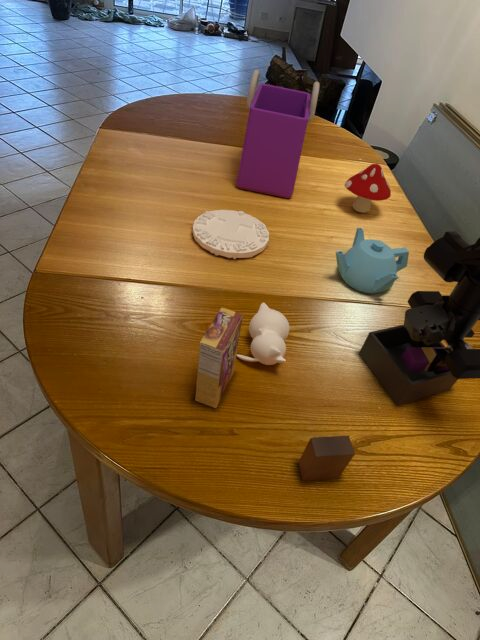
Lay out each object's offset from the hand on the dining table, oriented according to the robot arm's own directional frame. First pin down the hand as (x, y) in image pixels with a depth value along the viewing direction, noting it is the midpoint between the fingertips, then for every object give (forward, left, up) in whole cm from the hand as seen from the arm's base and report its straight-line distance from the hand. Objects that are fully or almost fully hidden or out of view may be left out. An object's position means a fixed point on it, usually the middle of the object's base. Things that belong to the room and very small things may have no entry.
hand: (425, 362), depth 78 cm
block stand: (-10, +27, -6) cm, 30 cm away
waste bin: (+3, 0, -6) cm, 7 cm away
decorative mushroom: (+61, -28, -6) cm, 67 cm away
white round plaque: (+54, +18, -6) cm, 57 cm away
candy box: (+10, +38, -6) cm, 40 cm away
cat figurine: (+16, +26, -6) cm, 31 cm away
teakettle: (+31, -9, -6) cm, 33 cm away
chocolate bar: (0, 0, 0) cm, 0 cm away
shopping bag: (+85, -7, -6) cm, 85 cm away
